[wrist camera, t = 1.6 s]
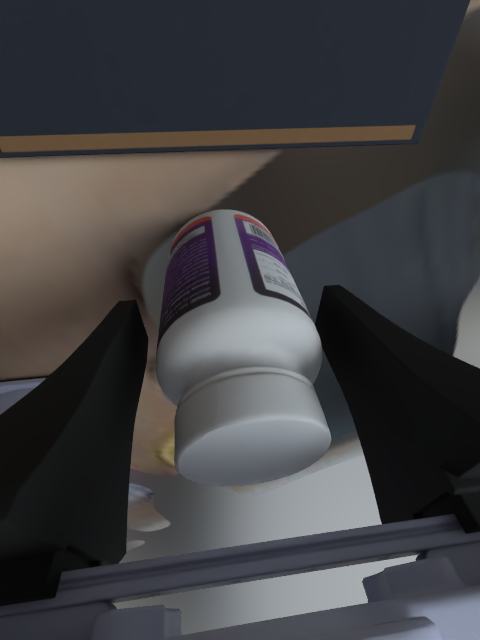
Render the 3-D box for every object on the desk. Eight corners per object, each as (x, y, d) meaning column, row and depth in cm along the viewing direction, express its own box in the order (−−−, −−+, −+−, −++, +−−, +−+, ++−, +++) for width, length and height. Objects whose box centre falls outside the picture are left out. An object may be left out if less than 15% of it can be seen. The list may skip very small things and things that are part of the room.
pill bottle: (180, 307, 16) (169, 507, 9) (155, 212, 12) (103, 421, 5) (275, 296, 16) (340, 480, 9) (279, 200, 13) (391, 382, 5)
